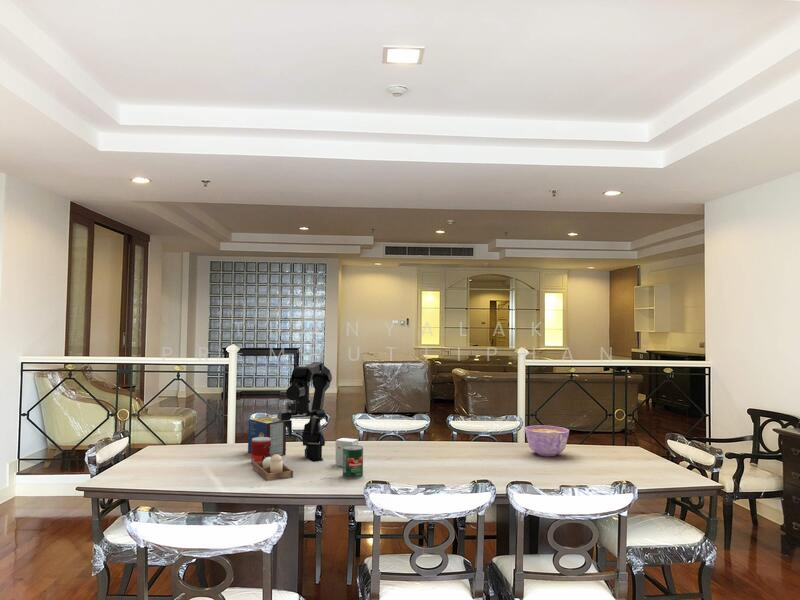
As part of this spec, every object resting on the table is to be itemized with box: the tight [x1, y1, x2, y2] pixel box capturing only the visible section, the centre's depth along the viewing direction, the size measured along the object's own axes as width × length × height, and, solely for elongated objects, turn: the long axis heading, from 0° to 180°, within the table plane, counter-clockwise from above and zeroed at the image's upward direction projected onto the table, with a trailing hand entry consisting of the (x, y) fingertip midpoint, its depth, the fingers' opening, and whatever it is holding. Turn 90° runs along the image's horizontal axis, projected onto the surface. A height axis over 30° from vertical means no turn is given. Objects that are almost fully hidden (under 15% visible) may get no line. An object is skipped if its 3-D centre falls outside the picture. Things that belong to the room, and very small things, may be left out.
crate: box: [252, 462, 294, 482], centre depth 213 cm, size 10×20×4 cm, turn 29°
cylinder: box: [270, 454, 284, 473], centre depth 209 cm, size 5×5×8 cm
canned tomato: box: [342, 444, 364, 480], centre depth 215 cm, size 8×8×11 cm
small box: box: [335, 437, 359, 467], centre depth 232 cm, size 8×6×10 cm
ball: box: [262, 457, 271, 468], centre depth 217 cm, size 5×5×5 cm
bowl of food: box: [524, 424, 570, 457], centre depth 256 cm, size 20×20×12 cm
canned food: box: [250, 437, 271, 465], centre depth 229 cm, size 8×8×11 cm
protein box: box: [247, 416, 287, 457], centre depth 251 cm, size 10×15×16 cm
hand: (301, 436), depth 226 cm, fingers open, 9 cm apart
